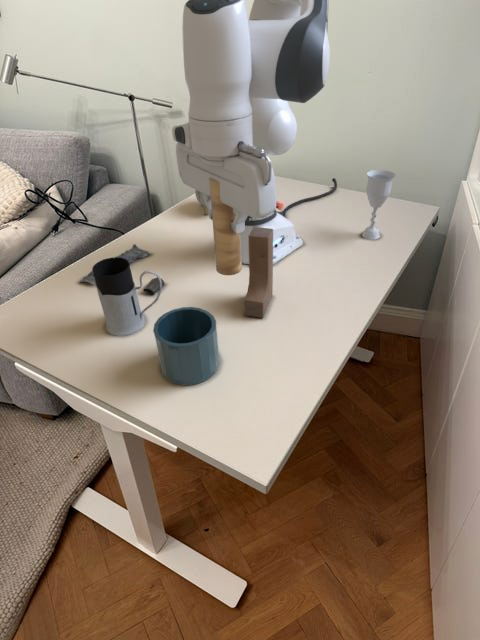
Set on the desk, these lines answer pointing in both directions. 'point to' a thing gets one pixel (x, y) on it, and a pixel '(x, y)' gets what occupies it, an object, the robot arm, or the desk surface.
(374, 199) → the chalice
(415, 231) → the desk surface
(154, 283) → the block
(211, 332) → the crock
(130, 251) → the grey fabric pouch
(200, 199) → the toy sheep
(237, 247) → the rolling pin
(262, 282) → the wooden block
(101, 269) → the glass holder
